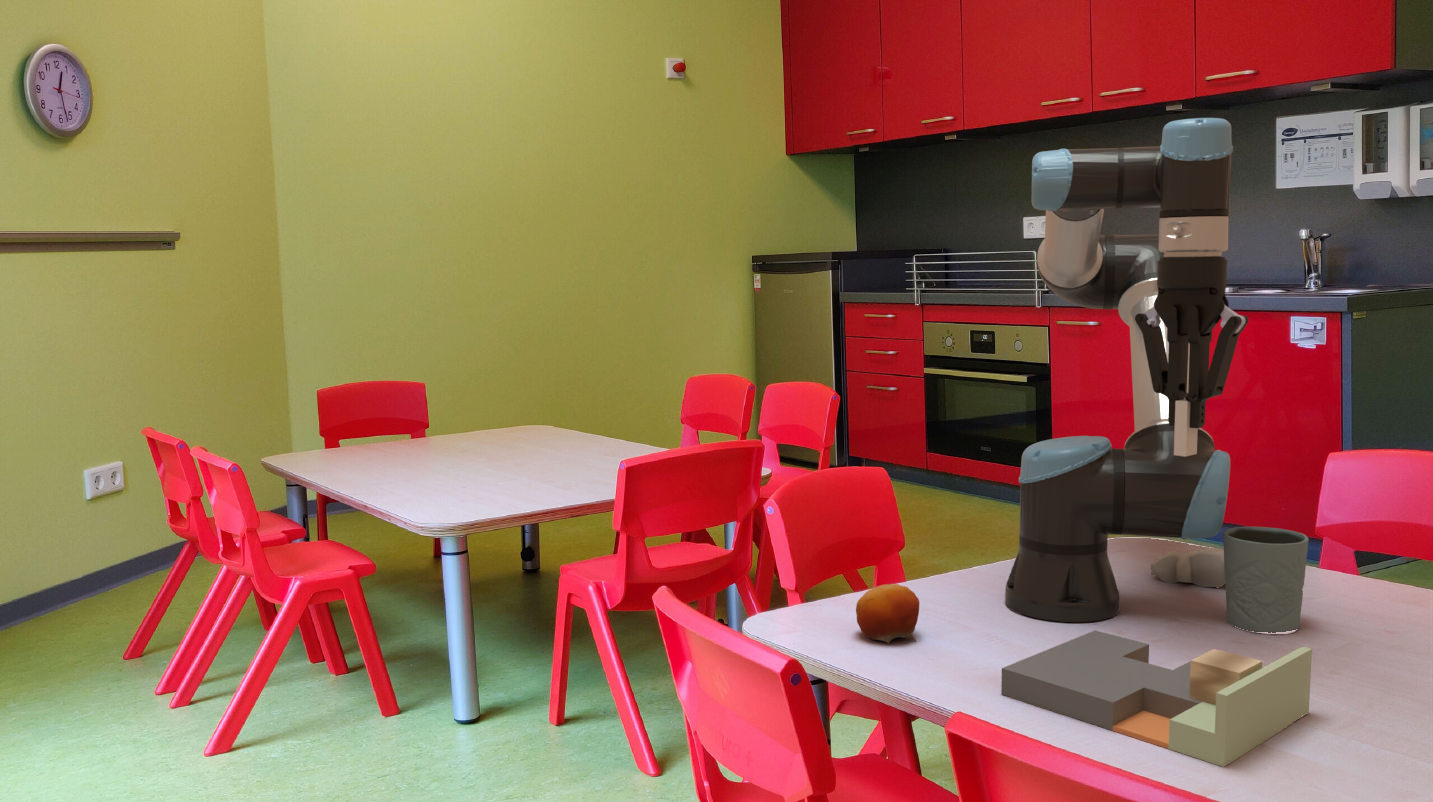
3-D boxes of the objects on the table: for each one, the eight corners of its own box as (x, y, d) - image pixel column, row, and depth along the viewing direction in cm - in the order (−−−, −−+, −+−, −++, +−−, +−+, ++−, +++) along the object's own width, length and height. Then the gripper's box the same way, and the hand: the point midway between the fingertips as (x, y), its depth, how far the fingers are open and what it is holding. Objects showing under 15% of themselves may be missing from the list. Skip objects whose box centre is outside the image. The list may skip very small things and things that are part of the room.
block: (1189, 697, 118) (1190, 660, 117) (1212, 685, 121) (1214, 648, 121) (1237, 711, 114) (1239, 672, 114) (1260, 698, 117) (1262, 661, 117)
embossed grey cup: (1265, 640, 144) (1269, 547, 142) (1201, 618, 153) (1205, 530, 151) (1322, 629, 148) (1327, 538, 146) (1257, 608, 157) (1261, 522, 155)
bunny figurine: (1158, 544, 176) (1265, 544, 169) (1161, 576, 177) (1268, 578, 169) (1145, 558, 168) (1257, 559, 161) (1148, 592, 169) (1260, 594, 161)
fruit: (889, 643, 140) (870, 581, 143) (858, 659, 147) (840, 599, 150) (942, 633, 144) (922, 572, 147) (909, 648, 150) (890, 590, 153)
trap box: (1001, 694, 127) (1002, 633, 127) (1094, 654, 140) (1095, 598, 139) (1223, 766, 109) (1226, 695, 108) (1308, 713, 121) (1311, 648, 120)
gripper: (1123, 255, 137) (1118, 451, 140) (1232, 254, 127) (1224, 465, 130) (1156, 255, 141) (1150, 444, 144) (1263, 253, 132) (1254, 457, 135)
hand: (1185, 454), depth 137 cm, fingers closed
